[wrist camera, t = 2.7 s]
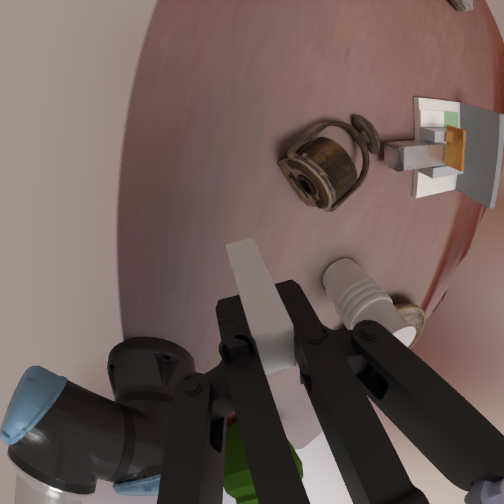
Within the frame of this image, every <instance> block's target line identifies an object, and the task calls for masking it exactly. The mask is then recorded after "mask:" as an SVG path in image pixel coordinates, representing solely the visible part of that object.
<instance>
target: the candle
mask: <svg viewBox="0 0 504 504" xmlns="http://www.w3.org/2000/svg"><path fill="white" fill-rule="evenodd" d="M323 285H324V287H325V288H326V294H327V297H328V298H329V299H330V300H331V301H332V303H333V304H334V305H335V309H336V312H337V313H338V315H339V317H340V318H341V320H342V321H343V323H344V324H345V326H346V327H347V329H348V330H353V328H354V326H355V325H356V324H357V323H358V322H360V321H363V320H373V321H376V322H378V323H380V324H381V325H382V326H384V327H385V328H386V329H387V330H388V331H389V332H391V333H392V334H393V335H394V336H395V337H396V338H398V339H399V340H400V341H401V342H402V343H403V344H404V345H406V346H407V347H408V346H409V345H410V344H411V343H412V341H413V339H414V337H415V335H416V329H415V327H414V326H413V325H411V324H409V323H408V322H407V321H406V319H405V318H404V317H403V316H402V315H401V313H400V312H399V311H398V310H397V309H396V307H395V306H394V305H393V301H392V299H391V298H390V296H388V295H387V293H386V292H385V291H384V290H383V289H382V287H381V286H380V285H378V283H377V282H376V281H375V280H374V279H373V278H371V277H370V276H369V275H368V273H367V272H366V271H365V269H364V268H363V267H362V266H361V265H359V264H355V262H354V261H353V260H351V259H348V258H345V259H340V260H337V261H336V262H334V263H333V264H331V265H330V266H329V267H328V268H327V270H326V271H325V273H324V275H323Z"/></svg>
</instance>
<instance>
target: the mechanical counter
mask: <svg viewBox="0 0 504 504" xmlns="http://www.w3.org/2000/svg"><path fill="white" fill-rule="evenodd" d="M353 125H354V127H353V126H351V125H350V124H347V123H345V122H341V121H330V122H326V123H324V124H322V125H320V126H318V127H317V128H316V129H315V130H313V131H312V132H311V133H309V134H308V135H307V136H305V137H304V138H303V139H301V140H300V141H299V142H298V143H296V144H295V145H294V146H293V147H291V148H290V149H289V150H288V152H287V156H288V158H286V159H283V160H280V161H279V162H278V164H279V166H280V167H281V169H282V170H283V172H284V173H285V175H286V176H287V178H288V179H289V181H290V182H291V184H292V185H293V187H294V188H295V189H296V191H297V192H298V194H299V195H300V196H301V198H302V199H303V201H304V202H305V203H306V205H307V206H312V207H318V208H320V209H321V208H322V209H324V210H325V211H328V212H332V211H334V210H335V209H337V208H338V207H339V206H340V205H341V204H342V203H343V202H344V201H345V200H346V199H347V198H348V197H349V196H350V195H351V194H352V193H353V192H354V191H355V190H357V189H358V188H359V187H360V186H361V184H362V183H363V182H364V180H365V178H366V175H367V172H368V169H369V153H368V151H369V152H370V153H372V154H377V153H378V152H379V150H380V141H379V136H378V133H377V131H376V129H375V128H374V126H373V125H372V123H370V122H369V121H368V120H367V119H365V118H364V117H362V116H360V115H355V116H354V117H353ZM328 126H339V127H342V128H344V129H346V130H347V131H349V132H350V133H351V134H352V135H353V136H354V138H355V140H356V142H357V144H358V145H359V147H360V149H361V152H362V158H363V165H362V170H361V173H360V176H359V178H358V179H357V170H356V166H355V164H354V162H353V160H352V159H351V157H350V156H349V154H348V153H347V151H346V150H345V149H344V148H343V147H342V146H340V145H339V144H338V143H336V142H335V141H333V140H331V139H328V138H325V137H319V138H316V139H315V140H314V141H312V142H311V143H310V144H308V145H307V146H306V147H304V148H303V149H302V150H300V151H299V152H298V153H297V154H296V153H295V152H296V150H298V149H299V148H300V147H302V146H303V145H304V144H306V143H307V142H308V141H309V140H311V139H312V138H313V137H314V136H316V135H317V134H318V133H319V132H321V131H322V130H323V129H325V128H326V127H328Z"/></svg>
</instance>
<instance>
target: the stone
mask: <svg viewBox="0 0 504 504" xmlns="http://www.w3.org/2000/svg"><path fill="white" fill-rule="evenodd" d="M472 1H473V0H450V2H451V3H452V4H453V5H454V6H455V7H456V9H459V10H461V11H463V12H466V11H470V10H473V5H472Z"/></svg>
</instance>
